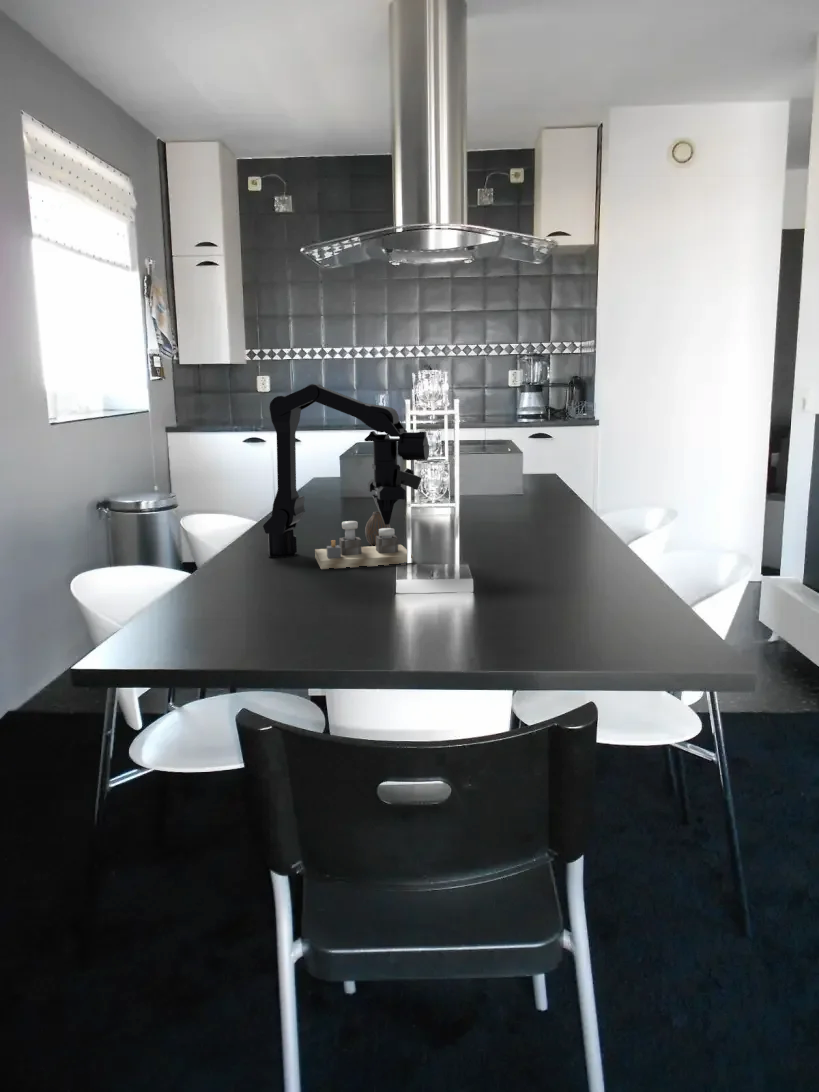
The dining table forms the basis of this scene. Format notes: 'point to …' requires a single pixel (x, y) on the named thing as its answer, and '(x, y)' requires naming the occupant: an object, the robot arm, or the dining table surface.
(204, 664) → the dining table surface
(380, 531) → the knob
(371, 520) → the vase
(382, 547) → the mount board
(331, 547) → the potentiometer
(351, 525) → the knob
